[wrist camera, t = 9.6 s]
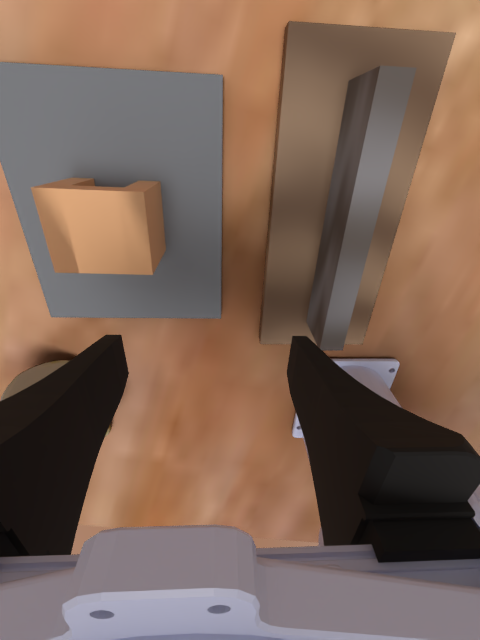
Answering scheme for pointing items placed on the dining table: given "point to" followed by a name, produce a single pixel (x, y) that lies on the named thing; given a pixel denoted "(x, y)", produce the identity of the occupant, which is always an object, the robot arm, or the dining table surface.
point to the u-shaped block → (102, 226)
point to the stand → (342, 172)
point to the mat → (121, 176)
